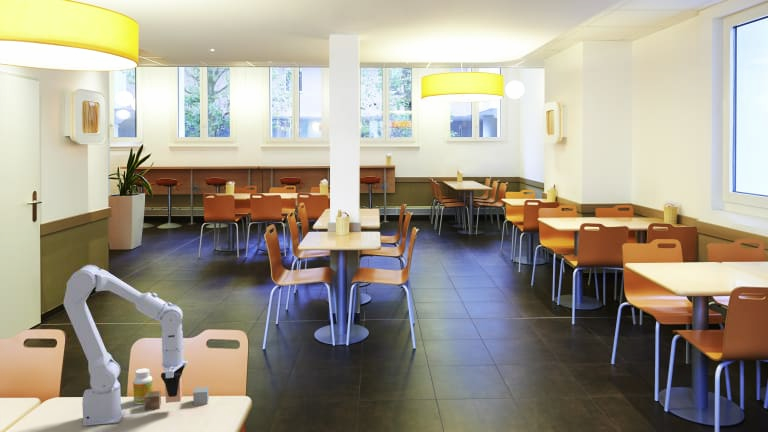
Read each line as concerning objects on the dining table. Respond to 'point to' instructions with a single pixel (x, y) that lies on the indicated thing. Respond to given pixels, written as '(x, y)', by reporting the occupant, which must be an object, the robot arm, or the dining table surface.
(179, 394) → the terracotta block
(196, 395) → the slate block
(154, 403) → the walnut block
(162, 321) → the robot arm
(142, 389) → the supplement bottle
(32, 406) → the dining table surface
